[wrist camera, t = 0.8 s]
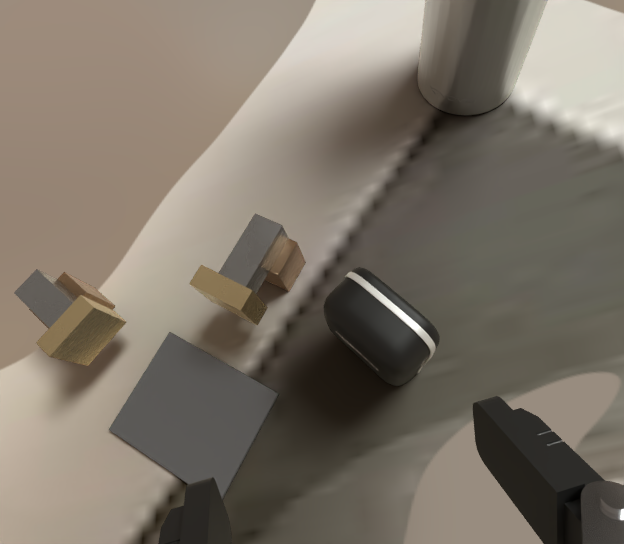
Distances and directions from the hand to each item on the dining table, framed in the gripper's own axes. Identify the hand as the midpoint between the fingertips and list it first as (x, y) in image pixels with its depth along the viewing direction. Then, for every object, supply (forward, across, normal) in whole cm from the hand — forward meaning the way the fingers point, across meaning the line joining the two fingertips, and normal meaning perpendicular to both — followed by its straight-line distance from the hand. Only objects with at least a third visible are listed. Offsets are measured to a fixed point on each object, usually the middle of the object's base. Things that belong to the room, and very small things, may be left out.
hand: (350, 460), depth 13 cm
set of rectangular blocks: (+28, +9, +4) cm, 30 cm away
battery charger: (+20, -6, +9) cm, 23 cm away
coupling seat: (+21, +10, +11) cm, 26 cm away
